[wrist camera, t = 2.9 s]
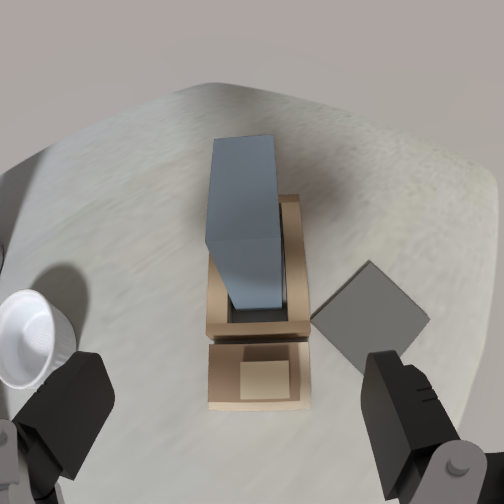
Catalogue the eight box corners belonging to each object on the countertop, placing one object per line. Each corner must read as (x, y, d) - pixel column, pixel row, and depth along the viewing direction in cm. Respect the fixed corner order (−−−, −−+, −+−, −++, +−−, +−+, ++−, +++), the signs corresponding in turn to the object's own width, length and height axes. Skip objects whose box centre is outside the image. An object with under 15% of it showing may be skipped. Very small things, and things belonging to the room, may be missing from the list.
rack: (311, 408, 21) (316, 408, 17) (210, 409, 21) (198, 410, 18) (297, 207, 28) (298, 182, 25) (217, 212, 29) (209, 187, 26)
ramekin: (75, 292, 27) (49, 274, 23) (92, 383, 23) (62, 376, 19) (14, 319, 26) (-13, 305, 22) (25, 402, 22) (-6, 396, 18)
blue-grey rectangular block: (281, 309, 24) (280, 237, 15) (236, 311, 25) (205, 241, 15) (277, 231, 28) (273, 134, 18) (237, 233, 28) (213, 139, 18)
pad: (310, 321, 24) (310, 320, 23) (369, 264, 25) (370, 262, 25) (373, 385, 21) (375, 385, 20) (428, 320, 22) (430, 319, 22)
